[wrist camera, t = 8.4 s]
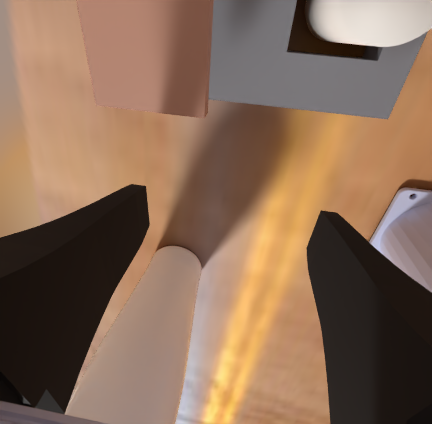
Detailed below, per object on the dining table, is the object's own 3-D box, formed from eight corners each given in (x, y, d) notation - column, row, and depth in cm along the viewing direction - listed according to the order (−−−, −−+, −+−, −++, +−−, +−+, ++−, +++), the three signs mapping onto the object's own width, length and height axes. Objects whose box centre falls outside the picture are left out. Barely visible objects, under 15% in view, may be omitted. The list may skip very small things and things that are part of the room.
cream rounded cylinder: (150, 278, 30) (73, 450, 17) (143, 233, 26) (37, 414, 13) (208, 286, 29) (170, 471, 17) (210, 241, 25) (162, 439, 13)
